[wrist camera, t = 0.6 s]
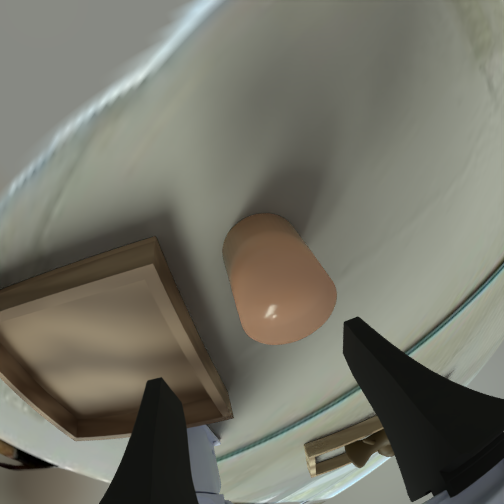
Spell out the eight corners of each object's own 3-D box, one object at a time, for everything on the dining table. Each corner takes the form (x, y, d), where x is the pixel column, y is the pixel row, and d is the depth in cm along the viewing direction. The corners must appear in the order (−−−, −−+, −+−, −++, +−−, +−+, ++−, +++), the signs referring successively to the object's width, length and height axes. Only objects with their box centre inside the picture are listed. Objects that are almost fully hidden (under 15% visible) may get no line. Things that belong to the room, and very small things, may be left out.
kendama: (367, 447, 52) (331, 440, 41) (404, 422, 51) (381, 409, 40) (378, 468, 47) (344, 469, 36) (417, 443, 46) (398, 438, 35)
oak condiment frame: (420, 417, 52) (425, 425, 50) (307, 468, 50) (311, 477, 48) (443, 379, 43) (450, 389, 41) (303, 444, 41) (308, 457, 38)
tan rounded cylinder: (301, 267, 21) (336, 326, 16) (232, 288, 21) (251, 355, 16) (292, 204, 19) (335, 255, 14) (213, 226, 18) (229, 287, 13)
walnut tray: (228, 392, 28) (233, 418, 25) (77, 418, 26) (75, 441, 24) (155, 235, 18) (152, 263, 15) (-31, 301, 16) (-45, 326, 14)
